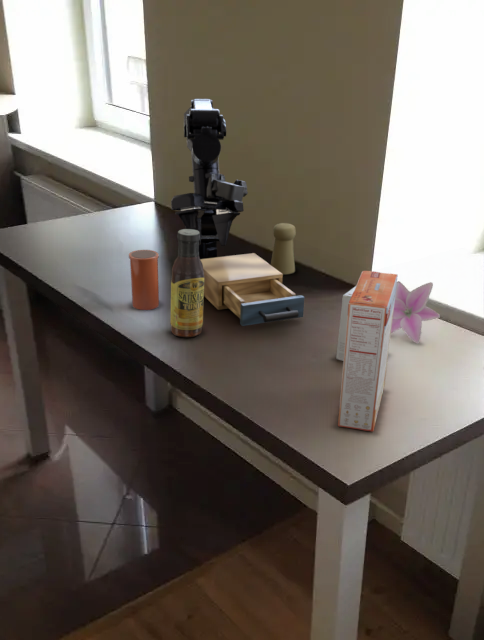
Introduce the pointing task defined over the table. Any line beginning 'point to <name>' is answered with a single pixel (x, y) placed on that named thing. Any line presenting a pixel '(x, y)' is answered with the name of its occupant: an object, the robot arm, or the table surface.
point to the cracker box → (366, 349)
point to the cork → (283, 248)
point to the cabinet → (234, 274)
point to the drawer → (262, 301)
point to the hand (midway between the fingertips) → (211, 245)
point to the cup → (144, 279)
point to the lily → (412, 310)
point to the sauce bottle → (187, 286)
